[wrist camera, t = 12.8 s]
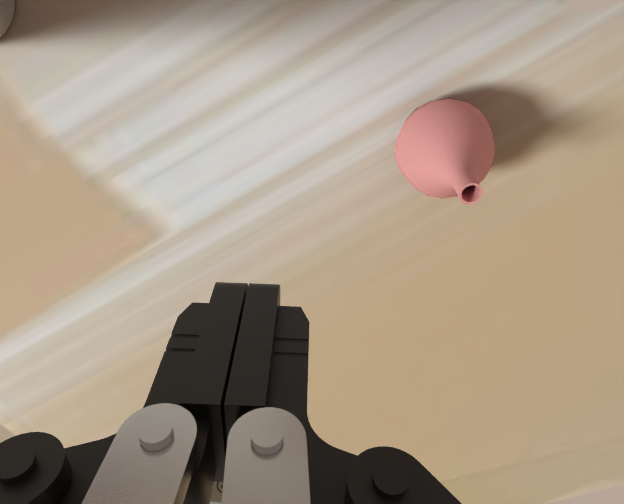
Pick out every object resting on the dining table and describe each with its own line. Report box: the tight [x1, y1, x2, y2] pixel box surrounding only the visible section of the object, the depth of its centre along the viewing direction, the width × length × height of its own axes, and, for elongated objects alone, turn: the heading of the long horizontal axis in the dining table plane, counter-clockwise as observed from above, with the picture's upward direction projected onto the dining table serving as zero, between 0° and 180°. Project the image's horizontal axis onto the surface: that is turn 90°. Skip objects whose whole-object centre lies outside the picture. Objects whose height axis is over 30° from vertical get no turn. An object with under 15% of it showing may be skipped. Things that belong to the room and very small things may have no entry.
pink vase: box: [395, 99, 495, 204], centre depth 37 cm, size 8×8×12 cm
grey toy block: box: [210, 482, 223, 504], centre depth 68 cm, size 5×5×5 cm
